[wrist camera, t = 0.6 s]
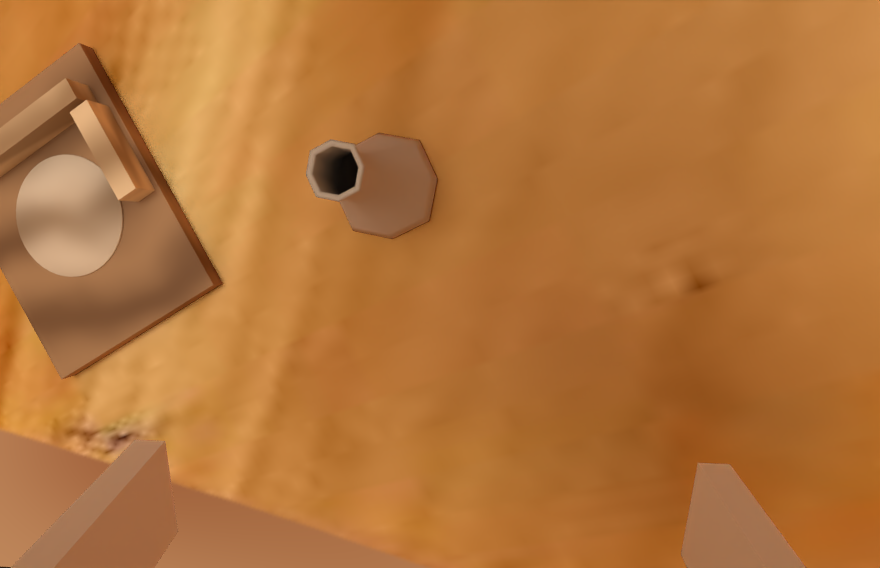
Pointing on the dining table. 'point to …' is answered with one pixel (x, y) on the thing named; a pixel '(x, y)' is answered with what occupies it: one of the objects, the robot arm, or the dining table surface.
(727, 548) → the robot arm
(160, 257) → the jig board
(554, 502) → the dining table surface
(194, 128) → the dining table surface
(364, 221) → the flask
